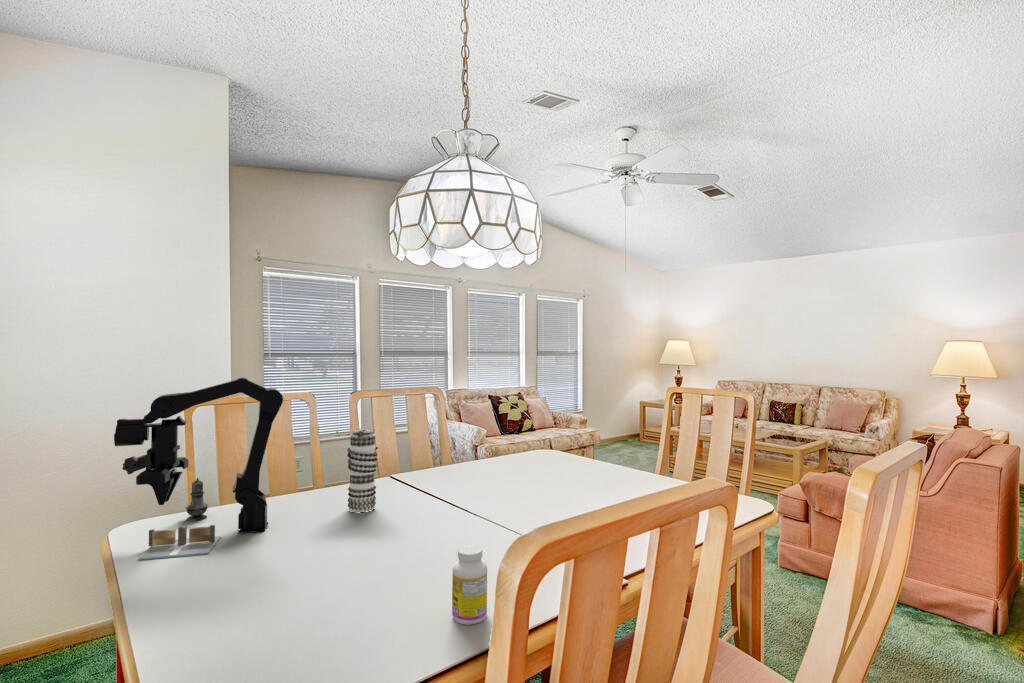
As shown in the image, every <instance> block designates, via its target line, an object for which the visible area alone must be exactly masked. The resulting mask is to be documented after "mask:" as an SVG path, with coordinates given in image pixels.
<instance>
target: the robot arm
mask: <svg viewBox="0 0 1024 683" xmlns="http://www.w3.org/2000/svg"><path fill="white" fill-rule="evenodd" d="M238 394H244V395H245V396H247V397H250V398H252V399H253V400H255V401H258V402H259V403H258V419H257V424H256V428H255V432H254V434H253V438H252V442H251V446H250V450H249V453H248V457H247V461H246V464H245V467H244V469H243V471H242V473H239V472H237V473H236V475H235V476H236V477H235V478H236V479H235V482H234V484H233V485H232V493H234V500H235V501H236V502H237V503H238V504H239V505H242V506H241V508H240V512H239V514H238V516H237V518H238V519H237V520H238V523H237V527H238V528H237V529H238V530H239V531H238V534H244V533H258V532H265V531H266V529H267V528H268V525H269V522H268V504H267V499H266V498H267V497H266V494H265V493H264V492H263V491H261V490H260V471H261V467H262V463H263V460H264V455H265V453H266V452H265V451H266V449H267V444H268V441H269V437H270V434H271V429H272V425H273V422H274V421H275V418H276V417H277V415H278V413H279V411H280V408H281V407H282V405H283V402H284V396H283V394H282V393H281V392H280V391H279V390H278V389H276V388H274V387H273V388H272V387H269V388H266V387H263V386H261V385H259V384H257V383H256V382H252V381H251V380H249V379H248V378H246V377H239V378H237V379H234V380H230V381H226V382H222V383H219V384H216V385H212V386H207V387H204V388H200V389H197V390H193V391H186V392H176V393H166V394H162V395H159V396H158V397H157V398H155V399H154V400H153V401H152V402H151V405H150V411H149V412H148V413H147V414H145V415H143V418H130V419H129V418H128V419H127V418H118V419H117V420H116V426H115V432H114V434H113V444H114V447H126V446H127V447H128V446H131V447H132V446H143V445H144V442H145V441H149V440H151V441H150V442H151V444H150V448H148V449H147V450H146V454H143V455H141V456H138V457H136V456H135V455H132V456H131V457H127V458H125V459H124V462H123V463H122V468H121V469H122V470H123V471H126V473H127V475H132V474H134V473H135V472H138V471H139V470H143V469H144V470H143V471H142V472H140V473H139V474H138V475H136V476H135V485H137V486H140V485H141V486H144V485H149V486H151V488H152V489H153V492H154V495H155V497H156V498H155V499H156V500H157V504H158V506H163V505H165V503H166V502H169V500H170V498H171V495H173V494H172V493H173V492H174V490H175V487H176V485H177V484H178V482H179V481H180V478H181V476H182V475H183V471H178V470H177V468H182V470H186V469H188V467H189V459H188V458H186V457H184V456H181V457H180V456H179V457H178V450H180V449H181V445H180V444H178V438H179V437H178V435H179V433H178V429H179V428H178V427H181V426H185V425H186V424H187V421H186V420H185V419H183V418H182V416H181V415H178V416H177V417H176V418H171V419H170V417H172V416H175V415H177V414H179V413H182V412H183V411H186V410H188V409H191V408H192V407H194V406H198V405H201V404H205V403H208V402H212V401H215V400H219V399H223V398H227V397H230V396H233V395H238ZM159 419H162V420H161V422H157V423H154V422H156V421H158V420H159ZM150 428H151V432H150ZM150 433H151V435H150ZM150 436H151V438H150Z"/></svg>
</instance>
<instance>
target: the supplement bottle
mask: <svg viewBox="0 0 1024 683" xmlns="http://www.w3.org/2000/svg"><path fill="white" fill-rule="evenodd" d="M457 557H458V560H457V561H455V563H454V564H453V566H452V586H451V587H452V589H451V591H452V593H451V595H452V596H451V597H452V598H451V600H452V602H451V608H452V609H451V616H452V618H453V620H454V621H455V622H457V623H458V624H462V625H465V626H466V625H468V626H469V625H476V624H479V623H481V622H483V621H484V620H485V619H486V617H487V613H488V566H487V564H486V562H485V561H484V560H483V559H482V558H483V548H482V547H481V546H479V545H476V544H475V545H474V544H468V545H462V546H460V547H459V548H458V549H457Z"/></svg>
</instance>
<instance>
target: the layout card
mask: <svg viewBox="0 0 1024 683" xmlns="http://www.w3.org/2000/svg"><path fill="white" fill-rule="evenodd" d="M221 538H222V536H221V535H217V536H216V535H215V542H213V543H210V542H209V541H207V542H195V543H189V538H186V544H185V545H182V546H179V545H178V539H175V544H171V545H159V546H149V548H148V549H146V550H145V551H144V552H143V553H142V554H141V555H140V556H138V558H137V561H146V560H147V561H148V560H159V559H167V558H169V559H170V558H181V557H192V556H202V555H209V554H210V553H211V552H212V550H213V549H214V548H215V546H216V545H217V544H218V542H219V541H220V539H221Z"/></svg>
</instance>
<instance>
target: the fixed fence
mask: <svg viewBox="0 0 1024 683" xmlns="http://www.w3.org/2000/svg"><path fill="white" fill-rule="evenodd" d="M187 527H188V526H187V525H181V526H178V528H177V529H178V531H177V535H178V536H177V540H178V545H179V546H182V545H185V544H186V539H187V534H188V533H187V530H188V529H187ZM188 531H189V536H188V539H189V543H195V542H207V541H209V542H210V543H213V542H215V537H216V525H215V524H211V525H209V526H197V527H196V526H195V527H189V530H188Z"/></svg>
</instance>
